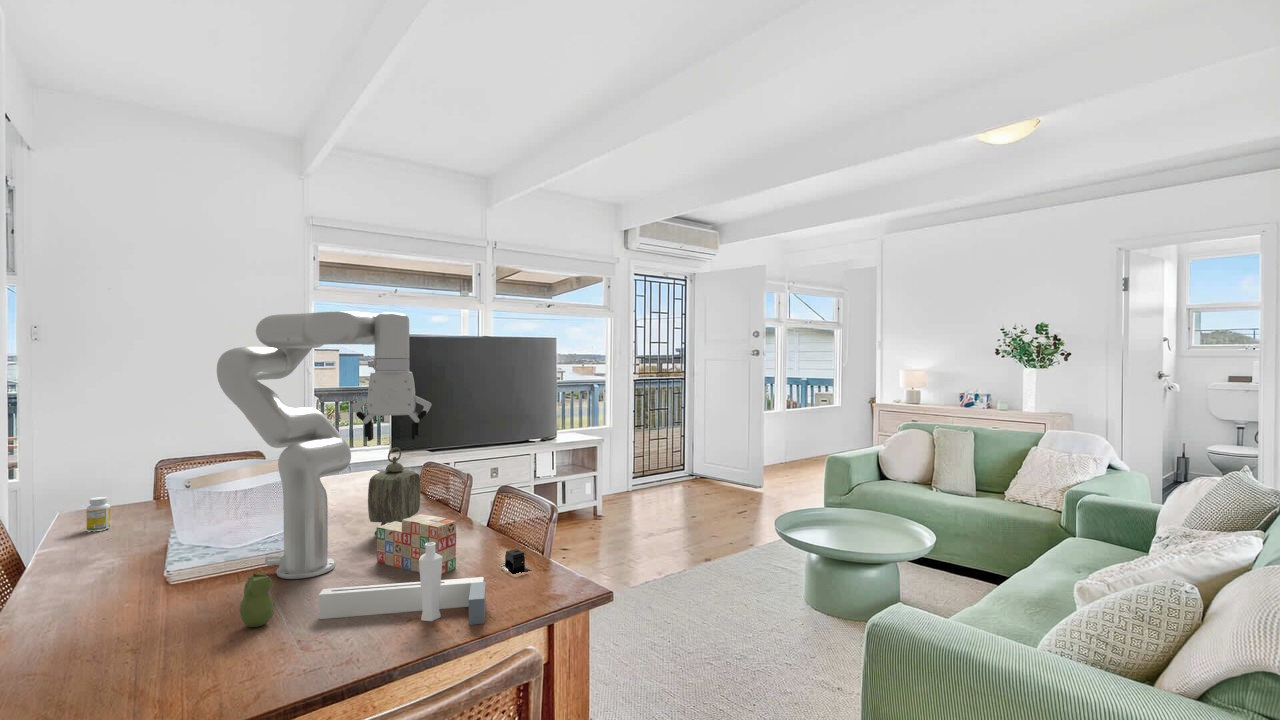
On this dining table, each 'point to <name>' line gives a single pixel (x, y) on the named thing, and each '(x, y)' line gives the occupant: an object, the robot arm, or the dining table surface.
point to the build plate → (515, 562)
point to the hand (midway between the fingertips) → (392, 439)
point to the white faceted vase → (430, 582)
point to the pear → (257, 601)
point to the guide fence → (403, 599)
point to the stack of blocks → (416, 541)
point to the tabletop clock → (393, 493)
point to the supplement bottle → (98, 514)
